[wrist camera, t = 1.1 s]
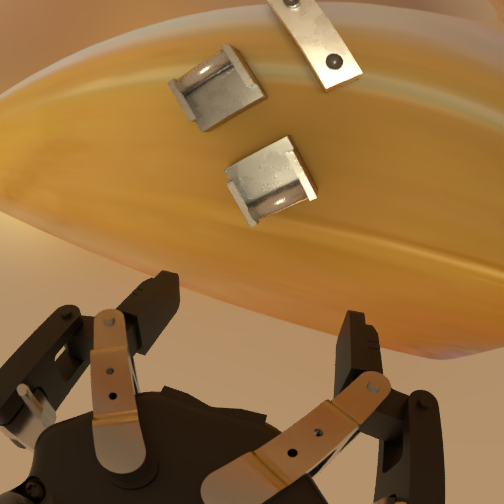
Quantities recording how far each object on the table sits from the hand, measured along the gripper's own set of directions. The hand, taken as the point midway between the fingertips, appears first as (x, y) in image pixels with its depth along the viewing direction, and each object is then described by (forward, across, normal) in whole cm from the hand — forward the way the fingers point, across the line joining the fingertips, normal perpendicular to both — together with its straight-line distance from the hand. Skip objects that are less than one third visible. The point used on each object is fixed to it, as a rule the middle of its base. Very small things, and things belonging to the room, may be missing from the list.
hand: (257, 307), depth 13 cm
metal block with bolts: (+24, 0, -18) cm, 29 cm away
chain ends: (+23, +7, -6) cm, 25 cm away
